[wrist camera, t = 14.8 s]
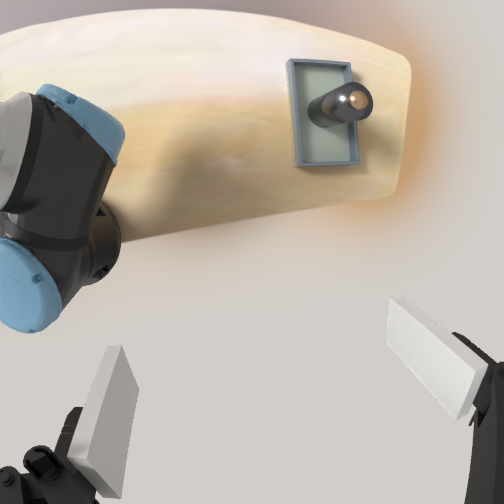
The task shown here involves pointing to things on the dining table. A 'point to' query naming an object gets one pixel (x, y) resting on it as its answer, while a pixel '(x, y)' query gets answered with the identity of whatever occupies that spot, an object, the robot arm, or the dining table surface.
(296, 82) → the trough
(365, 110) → the cell
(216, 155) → the dining table surface
